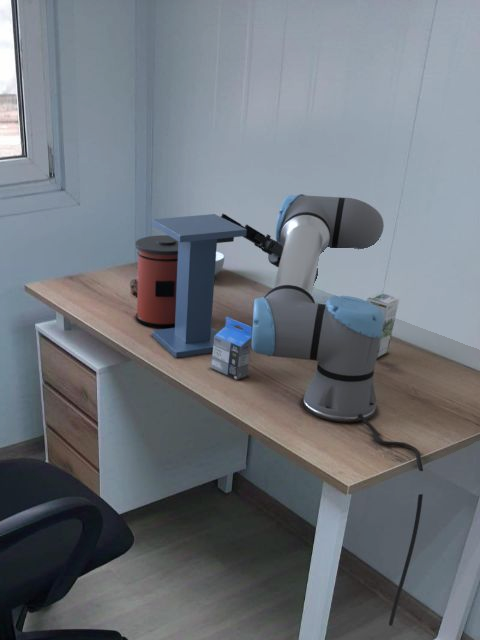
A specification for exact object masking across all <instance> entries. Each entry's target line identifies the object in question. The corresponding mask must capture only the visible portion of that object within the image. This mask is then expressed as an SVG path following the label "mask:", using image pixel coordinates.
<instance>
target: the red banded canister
mask: <svg viewBox="0 0 480 640" xmlns="http://www.w3.org/2000/svg"><path fill="white" fill-rule="evenodd" d="M177 265H178V255H156V254H149V253H145V252H142V251H139V250H138V249H137V277H138V296H136V297H137V301H136V302H137V305H136V306H137V307H136V309H137V311H136V313H135V320H136V321H137V323H139V324H140V325H142V326H145V327H148V328H154V329H160V330H161V329H168V328H175V313H176V289H177Z"/></svg>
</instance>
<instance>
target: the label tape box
mask: <svg viewBox="0 0 480 640" xmlns="http://www.w3.org/2000/svg"><path fill="white" fill-rule="evenodd" d="M237 326H238V327H239V328H237ZM252 328H253V326H251V325H248V324H246V323H243V322H241V321H238V320H236V319H234V318H232V317H231V318H230V317H228V316H225V326H224V327H223V328H222V329H220V330H219V331H217V332H218V333H217V334H216V335H215V336H214V345H213V353H212V356H211V367H210V368H211V369H212V370H215V371H216V372H219V373H220V374H223V375H226V376H228V377H230V378H233V379H234V380H241V379H244V378H247V377H248V371H249V364H250V363H249V361H250V354H251V347H252Z"/></svg>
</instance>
